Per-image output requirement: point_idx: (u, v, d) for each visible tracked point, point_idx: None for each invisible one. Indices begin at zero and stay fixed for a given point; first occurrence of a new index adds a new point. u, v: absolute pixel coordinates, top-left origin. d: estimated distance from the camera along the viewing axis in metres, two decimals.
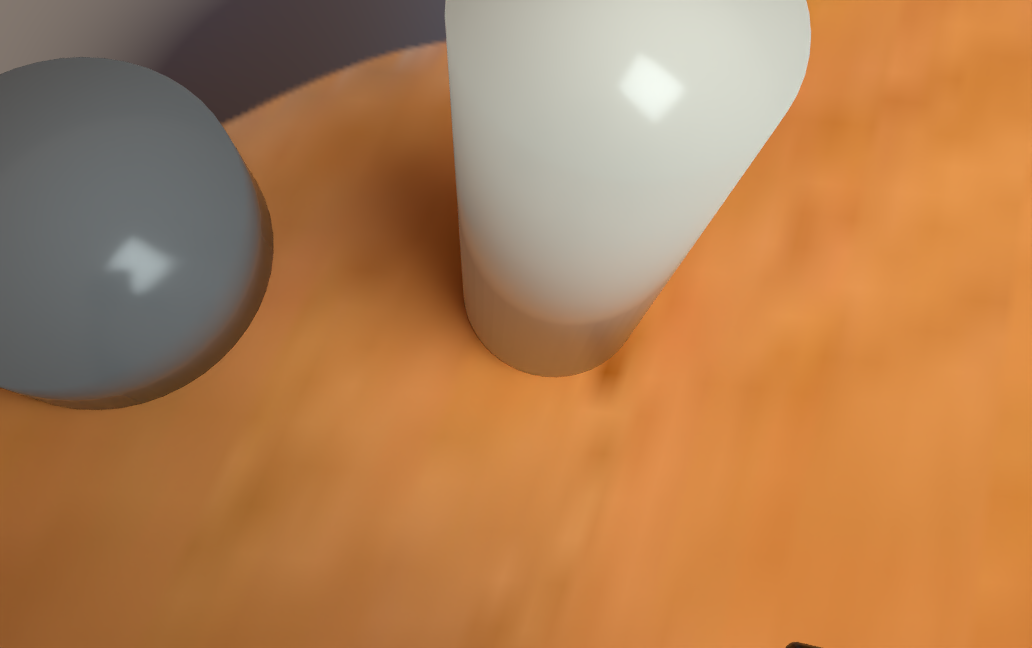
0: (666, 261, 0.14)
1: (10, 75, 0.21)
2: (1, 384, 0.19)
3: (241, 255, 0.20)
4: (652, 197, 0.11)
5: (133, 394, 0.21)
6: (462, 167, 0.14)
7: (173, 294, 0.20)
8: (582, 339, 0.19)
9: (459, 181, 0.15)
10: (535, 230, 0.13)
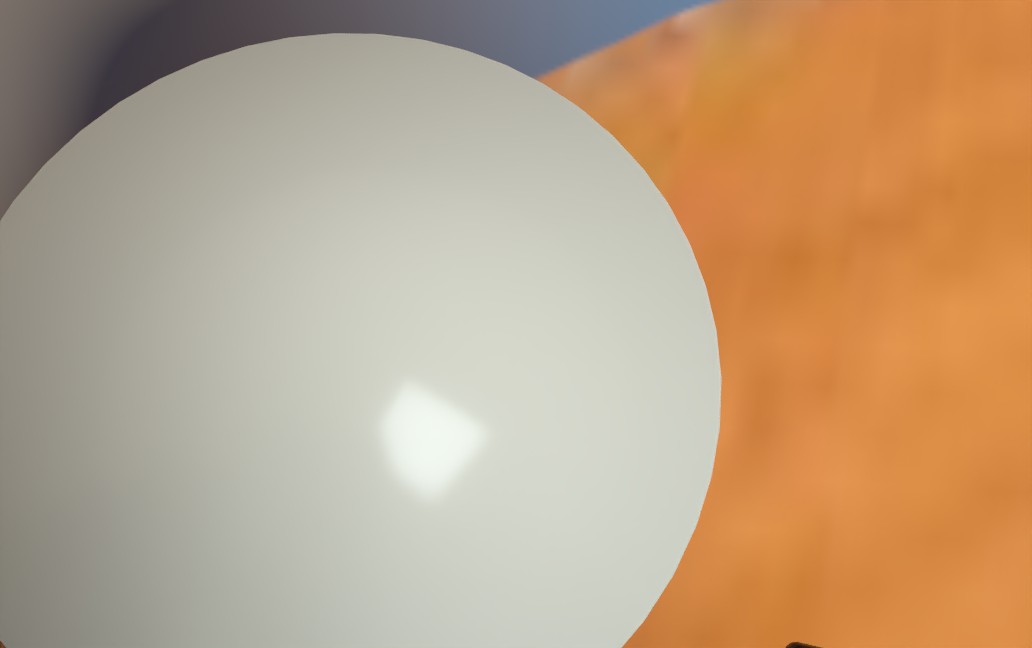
0: None
1: None
2: None
3: None
4: None
5: None
6: None
7: None
8: None
9: None
10: None
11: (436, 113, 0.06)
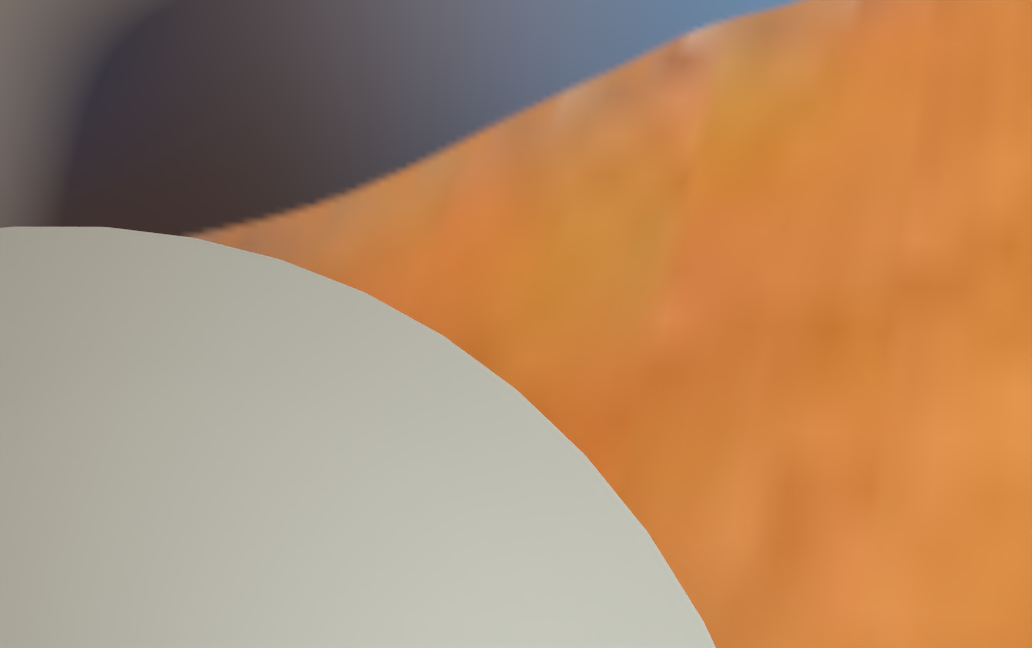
0: None
1: None
2: None
3: None
4: None
5: None
6: None
7: None
8: None
9: None
10: None
11: (210, 409, 0.03)
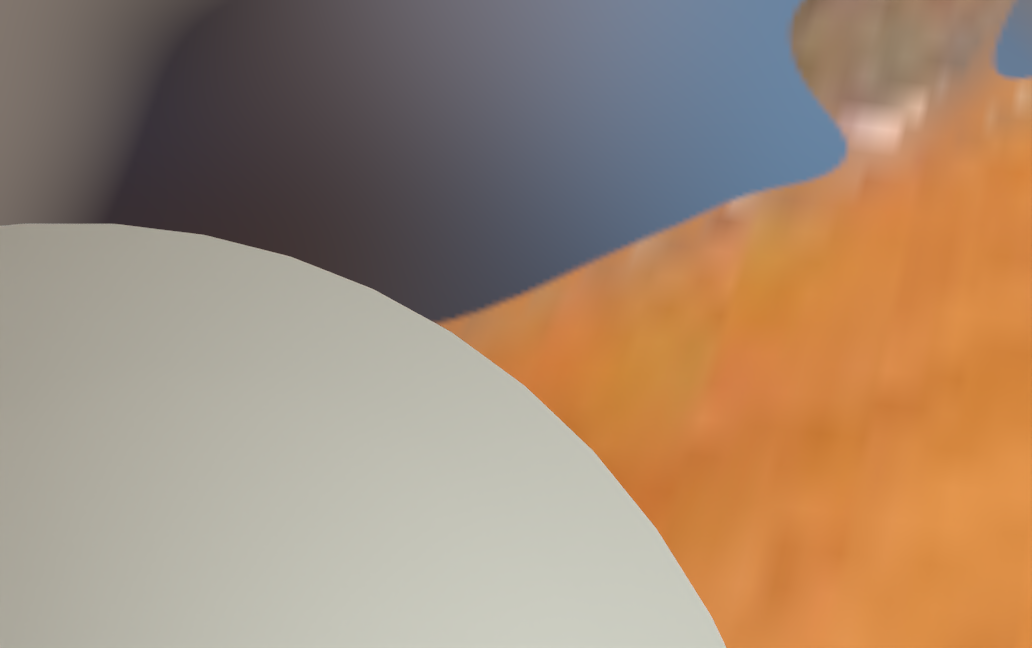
0: None
1: None
2: None
3: None
4: None
5: None
6: None
7: None
8: None
9: None
10: None
11: (221, 404, 0.03)
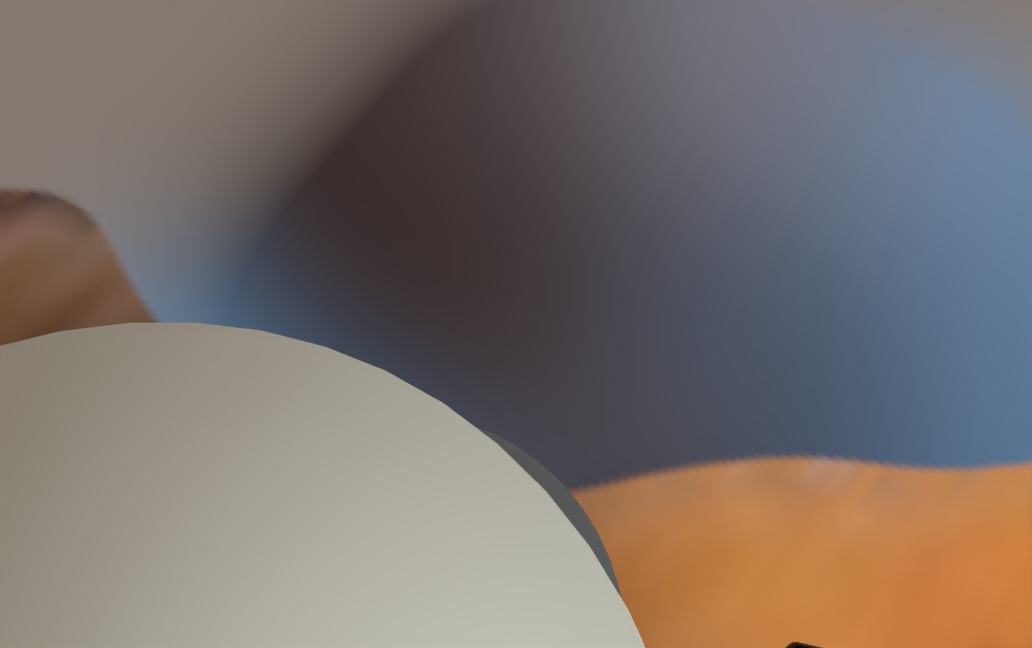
0: None
1: None
2: None
3: None
4: None
5: None
6: None
7: None
8: None
9: None
10: None
11: (276, 457, 0.04)
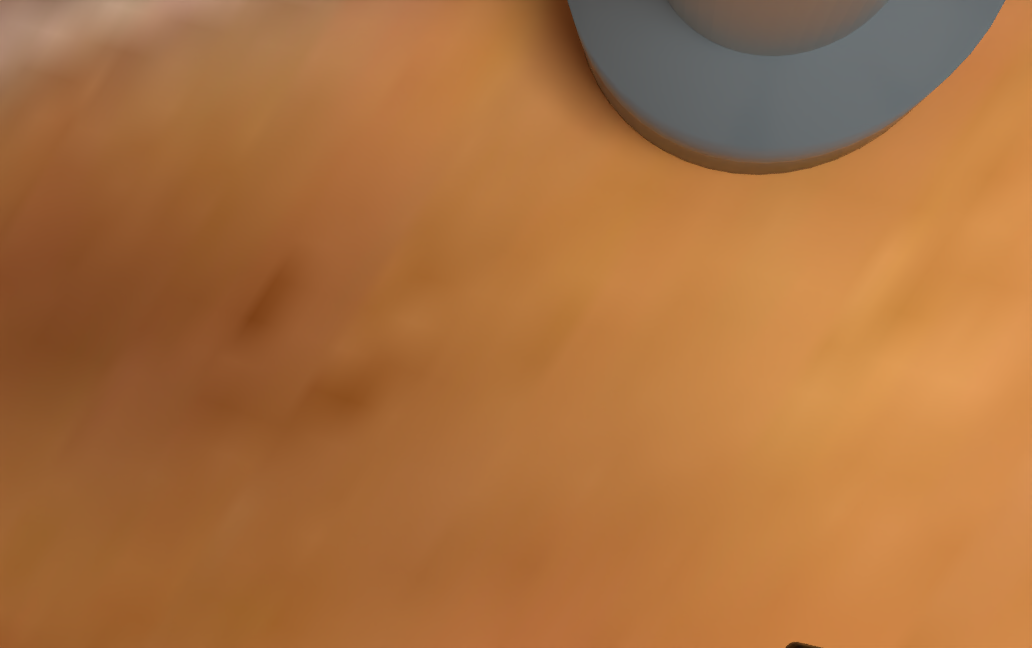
0: None
1: None
2: (699, 134, 0.16)
3: (999, 1, 0.16)
4: None
5: (798, 163, 0.18)
6: None
7: (916, 46, 0.16)
8: None
9: None
10: None
11: None
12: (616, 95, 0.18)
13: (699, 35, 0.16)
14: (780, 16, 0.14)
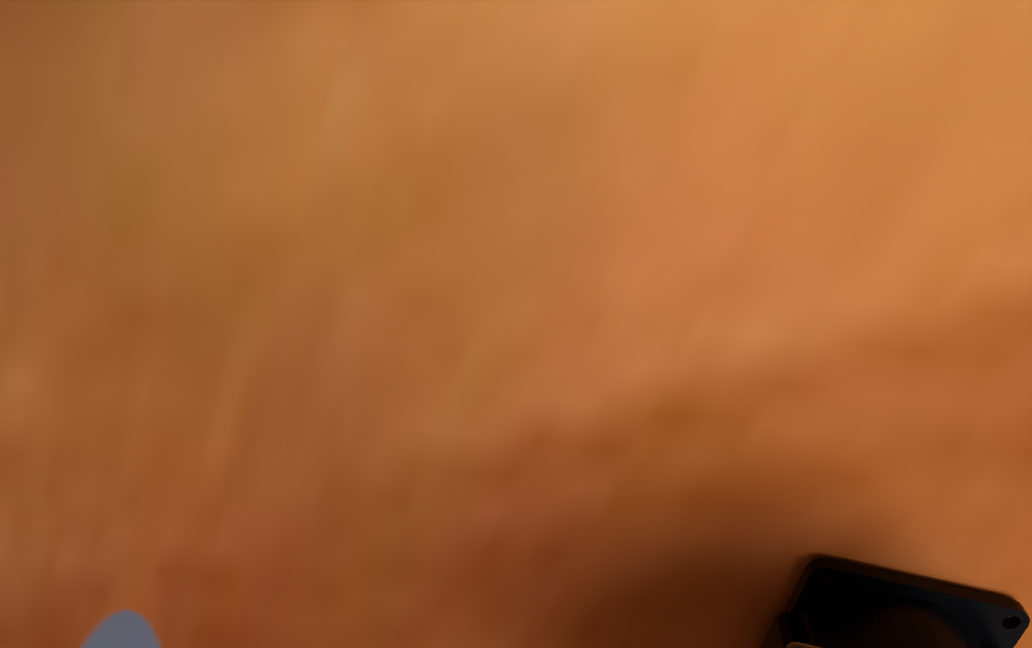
0: None
1: None
2: None
3: None
4: None
5: None
6: None
7: None
8: None
9: None
10: None
11: None
12: None
13: None
14: None
